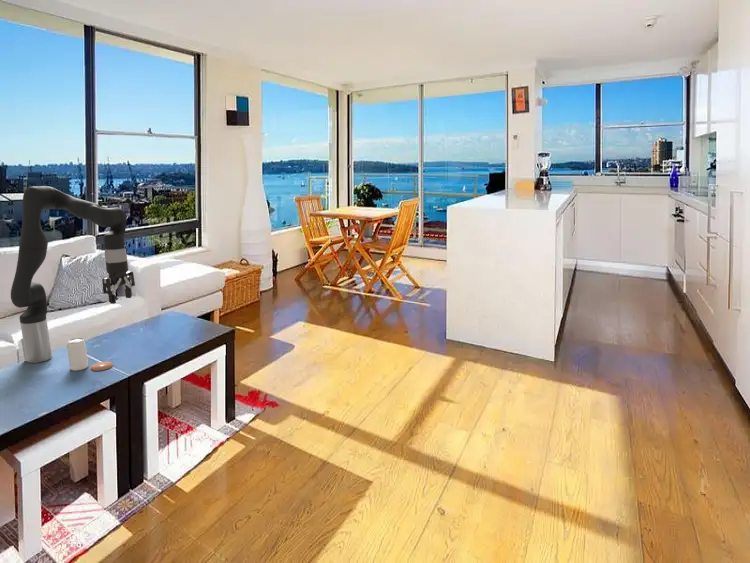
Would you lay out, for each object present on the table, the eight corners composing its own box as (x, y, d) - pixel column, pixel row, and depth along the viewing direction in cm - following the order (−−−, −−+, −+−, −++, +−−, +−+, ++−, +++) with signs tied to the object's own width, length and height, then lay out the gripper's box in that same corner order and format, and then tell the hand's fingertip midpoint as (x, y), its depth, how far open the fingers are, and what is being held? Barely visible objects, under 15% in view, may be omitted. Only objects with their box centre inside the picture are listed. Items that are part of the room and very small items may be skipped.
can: (91, 365, 208) (88, 337, 205) (81, 371, 201) (77, 343, 199) (77, 364, 208) (73, 337, 205) (66, 370, 202) (62, 342, 199)
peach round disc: (86, 369, 203) (85, 367, 203) (101, 362, 211) (100, 360, 210) (102, 371, 201) (102, 369, 201) (117, 364, 209) (117, 362, 209)
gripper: (121, 256, 201) (125, 295, 204) (93, 262, 187) (99, 304, 191) (137, 257, 199) (141, 296, 202) (110, 264, 185) (115, 306, 189)
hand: (120, 300), depth 197 cm, fingers open, 8 cm apart
